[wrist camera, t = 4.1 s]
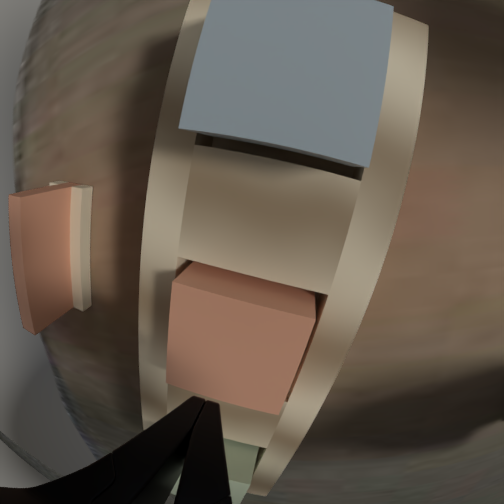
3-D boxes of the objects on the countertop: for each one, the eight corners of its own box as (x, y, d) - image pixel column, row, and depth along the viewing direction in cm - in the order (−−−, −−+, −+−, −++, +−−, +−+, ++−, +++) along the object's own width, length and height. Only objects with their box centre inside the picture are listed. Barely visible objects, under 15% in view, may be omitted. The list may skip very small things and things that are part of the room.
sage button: (243, 477, 16) (235, 511, 13) (174, 457, 16) (160, 489, 14) (259, 443, 14) (250, 484, 12) (176, 419, 15) (157, 456, 12)
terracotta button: (284, 372, 14) (278, 415, 11) (188, 345, 14) (165, 382, 12) (313, 283, 12) (315, 319, 9) (200, 255, 13) (172, 281, 10)
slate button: (350, 166, 10) (368, 167, 7) (211, 136, 10) (178, 128, 7) (373, 42, 8) (393, 6, 5) (239, 17, 8) (218, -22, 6)
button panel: (272, 456, 20) (265, 496, 16) (165, 426, 20) (147, 461, 17) (400, 55, 11) (428, 25, 7) (222, 20, 11) (196, -17, 8)
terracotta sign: (91, 305, 18) (45, 341, 13) (61, 291, 18) (15, 322, 13) (92, 186, 15) (30, 200, 11) (60, 180, 16) (0, 192, 11)
